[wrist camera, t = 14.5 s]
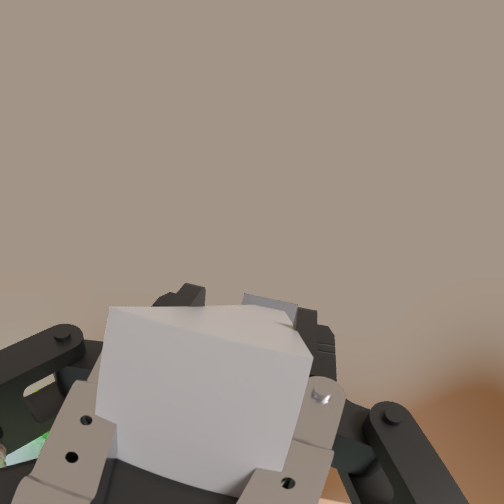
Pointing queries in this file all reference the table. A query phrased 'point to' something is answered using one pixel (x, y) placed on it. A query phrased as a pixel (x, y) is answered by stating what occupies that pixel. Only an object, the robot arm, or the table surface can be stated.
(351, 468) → the robot arm
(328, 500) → the table surface
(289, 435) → the grey square-ended bar
